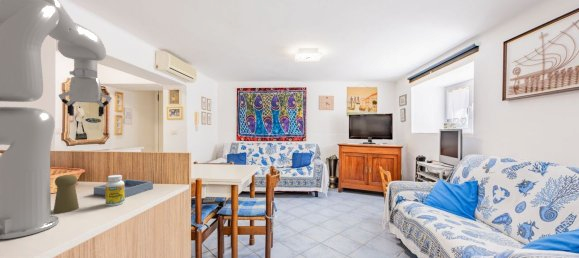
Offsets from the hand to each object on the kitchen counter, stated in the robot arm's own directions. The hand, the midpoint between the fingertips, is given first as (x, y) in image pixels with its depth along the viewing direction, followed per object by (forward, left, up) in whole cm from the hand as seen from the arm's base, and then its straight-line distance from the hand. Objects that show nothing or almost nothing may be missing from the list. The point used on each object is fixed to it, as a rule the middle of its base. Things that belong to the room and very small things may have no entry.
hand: (86, 115), depth 103 cm
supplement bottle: (-12, -31, -31) cm, 45 cm away
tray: (0, -21, -31) cm, 37 cm away
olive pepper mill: (-21, -22, -31) cm, 43 cm away
